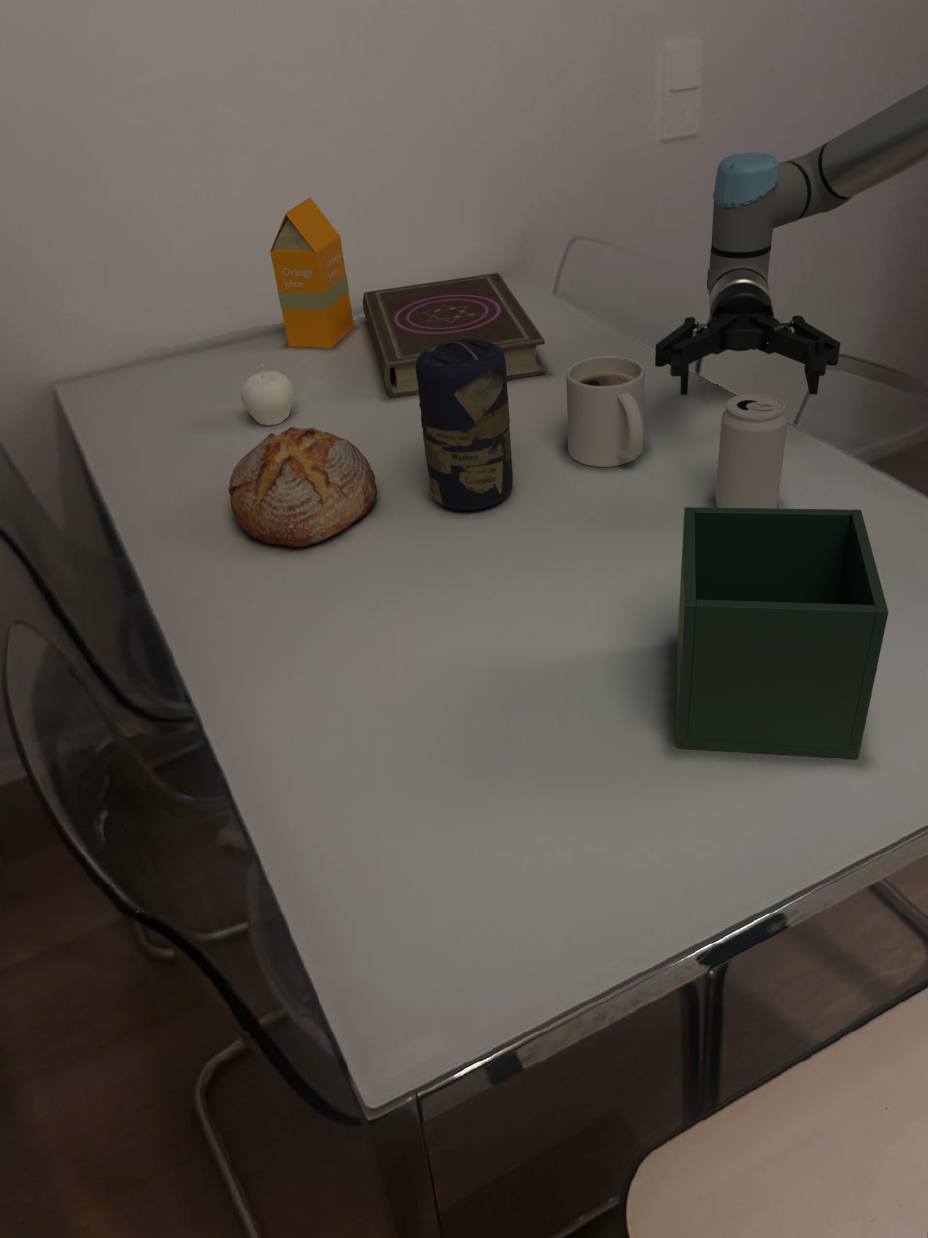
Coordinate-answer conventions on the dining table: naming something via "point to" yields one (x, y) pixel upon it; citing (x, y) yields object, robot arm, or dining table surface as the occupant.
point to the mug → (605, 410)
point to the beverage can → (751, 452)
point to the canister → (465, 422)
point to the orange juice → (311, 279)
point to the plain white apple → (268, 396)
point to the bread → (301, 487)
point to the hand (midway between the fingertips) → (749, 383)
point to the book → (448, 326)
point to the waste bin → (777, 631)
